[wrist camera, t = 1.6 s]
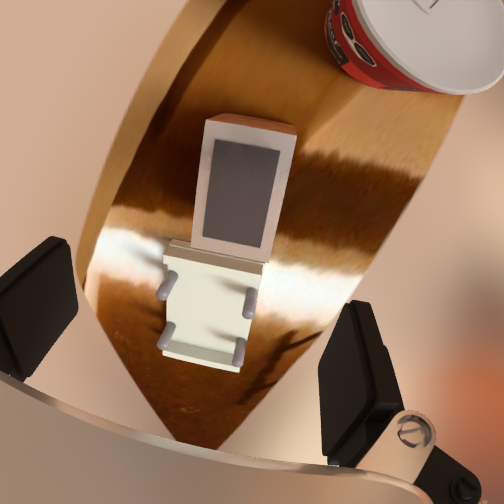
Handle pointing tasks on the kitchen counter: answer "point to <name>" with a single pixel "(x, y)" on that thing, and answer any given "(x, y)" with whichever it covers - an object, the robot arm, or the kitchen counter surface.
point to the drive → (241, 184)
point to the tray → (208, 305)
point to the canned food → (419, 43)
